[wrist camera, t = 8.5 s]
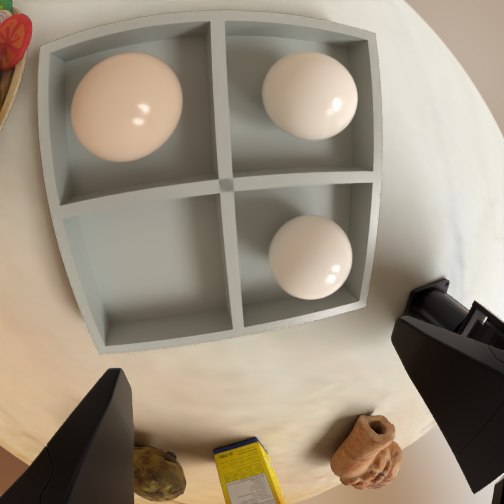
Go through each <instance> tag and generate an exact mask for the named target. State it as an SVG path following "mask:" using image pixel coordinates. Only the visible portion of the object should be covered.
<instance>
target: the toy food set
mask: <svg viewBox="0 0 504 504" xmlns="http://www.w3.org/2000/svg"><path fill="white" fill-rule="evenodd" d="M31 35H32V22H31V20H30V19H29V18H28V16H26V15H24V14H21V13H20V12H19V11H18V10H17V9H16V8H14V7H12V0H0V130H1V129H2V127H3V125H4V123H5V121H6V119H7V117H8V115H9V113H10V110H11V108H12V106H13V103H14V101H15V98H16V96H17V93H18V90H19V87H20V84H21V81H22V77H23V73H24V69H25V64H26V59H27V51H28V46H29V43H30V40H31Z"/></svg>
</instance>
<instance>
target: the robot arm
mask: <svg viewBox="0 0 504 504" xmlns="http://www.w3.org/2000/svg"><path fill="white" fill-rule="evenodd" d="M448 286H449V280H447V279H444V280H441V281H439V282H436V283H433V284H430V285H427V286H424V287H421V288H418V289H415V290H413V291H412V292H411V294H410V297H409V301H408V305H407V309H406V312H405V316H403V317H400V318H398V319H397V320H396V322H395V325H394V329H393V332H392V335H391V341H392V344H393V346H394V348H395V350H396V352H397V354H398V355H399V357H400V359H401V361H402V364H403V366H404V368H405V370H406V372H407V374H408V375H409V377H410V379H411V380H412V382H413V384H414V385H415V387H416V389H417V390H418V392H419V393H420V395H421V397H422V398H423V400H424V402H425V404H426V405H427V407H428V409H429V410H430V412H431V414H432V415H433V417H434V419H435V421H436V422H437V424H438V426H439V428H440V430H441V431H442V433H443V435H444V437H445V439H446V440H447V442H448V444H449V446H450V448H451V449H452V452H453V453H454V455H455V458H456V460H457V462H458V463H459V465H460V468H461V470H462V472H463V474H464V475H465V478H466V480H467V482H468V484H469V486H470V488H471V490H472V492H473V493H474V494H475V493H477V492H478V491H480V490H481V489H483V488H484V487H485V486H487V485H488V484H490V483H491V482H492V481H494V480H495V479H496V478H497V477H499V476H500V475H501V474H503V473H504V321H502V320H501V319H500V318H499V317H497V316H496V315H495V314H493V313H492V312H491V311H489V310H488V309H487V308H485V307H484V306H482V305H481V304H479V303H478V302H476V301H475V300H474V302H473V304H472V307H471V309H470V310H468V309H467V308H466V307H464V306H463V305H462V304H461V303H459V302H458V301H457V300H455V299H454V298H453V297H451V296H450V295H448V294H447V289H448ZM486 317H488V318H487V320H486V321H485V322H483V321H484V319H485V318H486ZM133 470H134V425H133V410H132V391H131V387H130V384H129V382H128V380H127V378H126V376H125V374H124V371H123V370H122V369H121V368H110V369H108V370H107V371H106V372H105V373H104V374H103V376H102V377H101V378H100V379H99V380H98V382H97V383H96V384H95V385H94V386H93V388H92V389H91V390H90V391H89V392H88V394H87V395H86V396H85V397H84V398H83V400H82V401H81V402H80V403H79V405H78V406H77V407H76V408H75V409H74V411H73V412H72V413H71V414H70V416H69V417H68V418H67V419H66V421H65V422H64V423H63V424H62V426H61V427H60V428H59V429H58V431H57V432H56V433H55V435H54V436H53V437H52V438H51V440H50V441H49V442H48V444H47V446H45V447H44V449H43V450H42V451H41V452H40V454H39V455H38V456H37V457H36V459H35V460H34V461H33V462H32V464H31V465H30V466H29V467H28V468H27V470H25V472H24V473H23V474H22V475H21V476H20V477H19V478H18V479H17V480H16V481H15V482H14V483H13V485H12V486H11V487H10V488H9V489H8V490H7V491H6V492H5V493H4V494H3V495H2V496H1V497H0V504H134V474H133ZM492 504H504V475H503V477H502V478H501V479H500V480H499V481H498V482H497V483H496V484H495V487H494V493H493V499H492Z"/></svg>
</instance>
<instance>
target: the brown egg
mask: <svg viewBox="0 0 504 504" xmlns="http://www.w3.org/2000/svg"><path fill="white" fill-rule="evenodd" d="M182 107H183V95H182V89H181V85H180V82H179V80H178V77H177V76H176V74H175V73H174V71H173V70H172V69H171V68H170V66H168V65H167V64H166V63H165V62H164V61H162V60H161V59H159V58H157V57H155V56H153V55H150V54H147V53H141V52H126V53H120V54H116V55H113V56H111V57H108V58H106V59H104V60H102V61H101V62H99V63H98V64H96V65H95V66H94V67H93V68H92V69H90V70H89V71H88V73H87V74H86V75H85V76H84V77H83V79H82V80H81V81H80V83H79V85H78V87H77V88H76V91H75V93H74V96H73V99H72V104H71V123H72V127H73V131H74V133H75V135H76V137H77V139H78V141H79V142H80V144H81V145H82V146H83V147H84V148H85V149H86V150H87V151H88V152H90V153H91V154H93V155H94V156H96V157H98V158H100V159H103V160H106V161H111V162H128V161H134V160H138V159H140V158H143V157H145V156H147V155H149V154H151V153H153V152H154V151H156V150H157V149H158V148H160V147H161V146H162V145H163V144H164V143H165V142H166V141H167V140H168V139H169V137H170V136H171V135H172V133H173V132H174V130H175V128H176V127H177V124H178V122H179V120H180V116H181V113H182Z"/></svg>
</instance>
